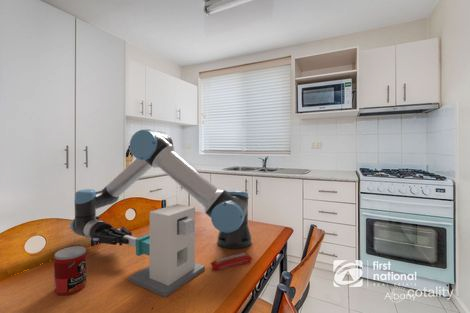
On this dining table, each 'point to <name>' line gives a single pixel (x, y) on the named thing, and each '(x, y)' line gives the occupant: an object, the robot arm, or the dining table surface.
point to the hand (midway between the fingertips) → (136, 242)
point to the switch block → (169, 252)
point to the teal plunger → (143, 245)
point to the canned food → (70, 270)
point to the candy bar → (231, 261)
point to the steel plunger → (185, 226)
